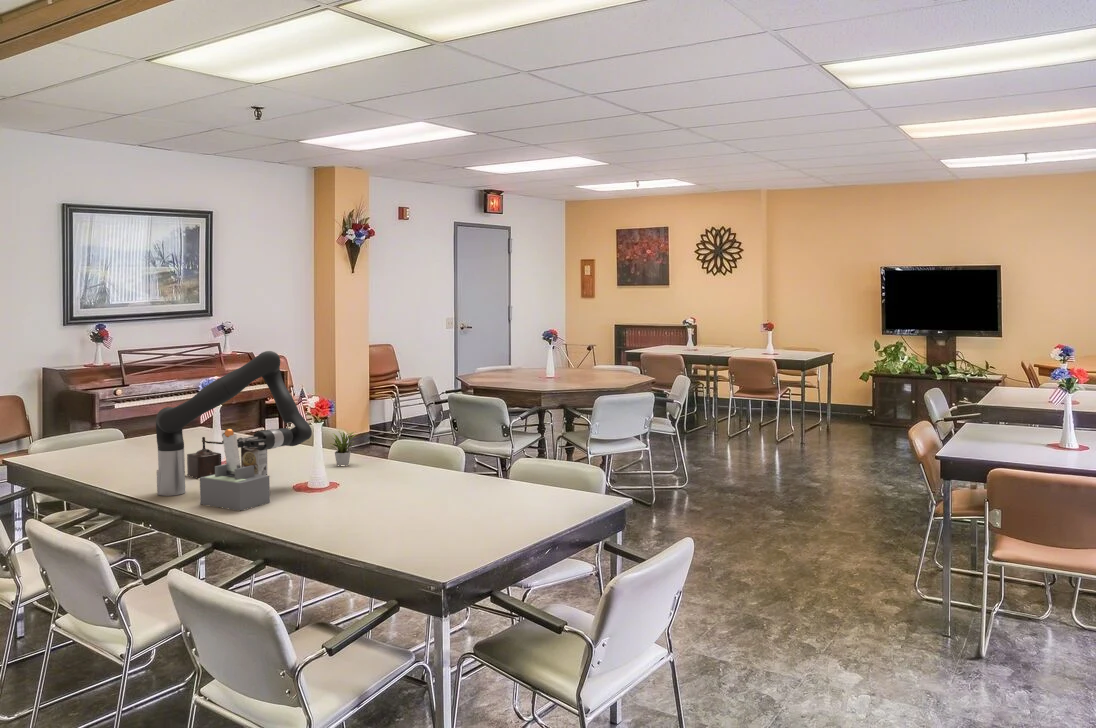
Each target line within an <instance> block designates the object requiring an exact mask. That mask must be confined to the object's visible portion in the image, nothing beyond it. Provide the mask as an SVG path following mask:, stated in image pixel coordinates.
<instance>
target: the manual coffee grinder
mask: <svg viewBox="0 0 1096 728" xmlns="http://www.w3.org/2000/svg"><path fill="white" fill-rule="evenodd" d="M223 434H224V432H222V434H221V436H222V438H223ZM201 439H202V440H201V442H202V448H201V449H200V450H198V451H196V452H193V453H188V454H186V465H187V469H186V470H187V471H186V472H187V476H188V475H190V476H193V477H192V478H194V477H197V478H196V479H198V478H201V477H205V476H209V475H214V474H215V466H219V465H222V454H221V453H220V452H216V451H212V450H211V449H208V448H206V444H214V445H215V444H216V445H224V442H223V440H222V441H221V442H220V441H208V440H206V437H205V436H202V438H201ZM190 476H189V477H190Z"/></svg>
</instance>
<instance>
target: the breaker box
mask: <svg viewBox="0 0 1096 728" xmlns="http://www.w3.org/2000/svg"><path fill="white" fill-rule="evenodd" d="M226 471H227V463H225V464H221V465H219V466H215V474H214V475H209V476H205V477H201V478H200V479H199V490H200V491H199V498H200V500H199V501H200V505H201V504H203V505H202V506H206V505H210V506H209V507H212V506H216V507H215V508H218V507H223V508H222V509H224V508H229V509H228V510H230V509H234V510H233V511H236V510H243V511H245V510H244V509H246V510H248V509H247V508H250V509H252V508H251V507H253V508H256V507H255V506H257V507H259V506H258V505H260V506H263V505H266V504H265V503H267V504H270V503H271V492H270V491H271V490H270V488H271V487H270V475H259V474H254V465H251V466H246V467H242V468H238V469H235V476H232V475H227V474H226ZM269 502H270V503H269ZM262 504H263V505H262Z"/></svg>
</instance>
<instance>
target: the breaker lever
mask: <svg viewBox="0 0 1096 728" xmlns="http://www.w3.org/2000/svg"><path fill="white" fill-rule="evenodd" d="M223 433H224V434H223ZM223 433H222V434H223V437H222V441H223V442H224V444H223V447H224V455H225V464H227V471H226V474H227V475H232V476H235V469H238V468H241V457H240V450H239V448H238V443H237V439H238V437H237V434H235V433H234V429H232V428H227V429H225V431H224V432H223Z"/></svg>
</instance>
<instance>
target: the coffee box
mask: <svg viewBox="0 0 1096 728" xmlns="http://www.w3.org/2000/svg"><path fill="white" fill-rule="evenodd" d="M248 437H249V436H248ZM248 437H247V436H246V438H248ZM240 465H241V468H242V467H246V466H251V465H254V474H259V475H266V474H269V473H268V450H262V451H259V450H257V449H256V448H255V447H253V448H247V447H245V448H243V447H240ZM266 476H267V475H266Z"/></svg>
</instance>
